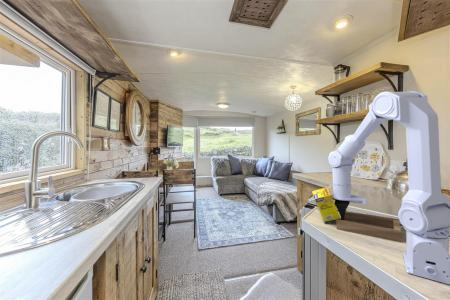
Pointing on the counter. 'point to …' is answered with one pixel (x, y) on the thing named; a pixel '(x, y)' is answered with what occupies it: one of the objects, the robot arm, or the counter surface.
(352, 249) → the counter surface
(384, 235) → the brown wooden tray
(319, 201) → the supplement box
